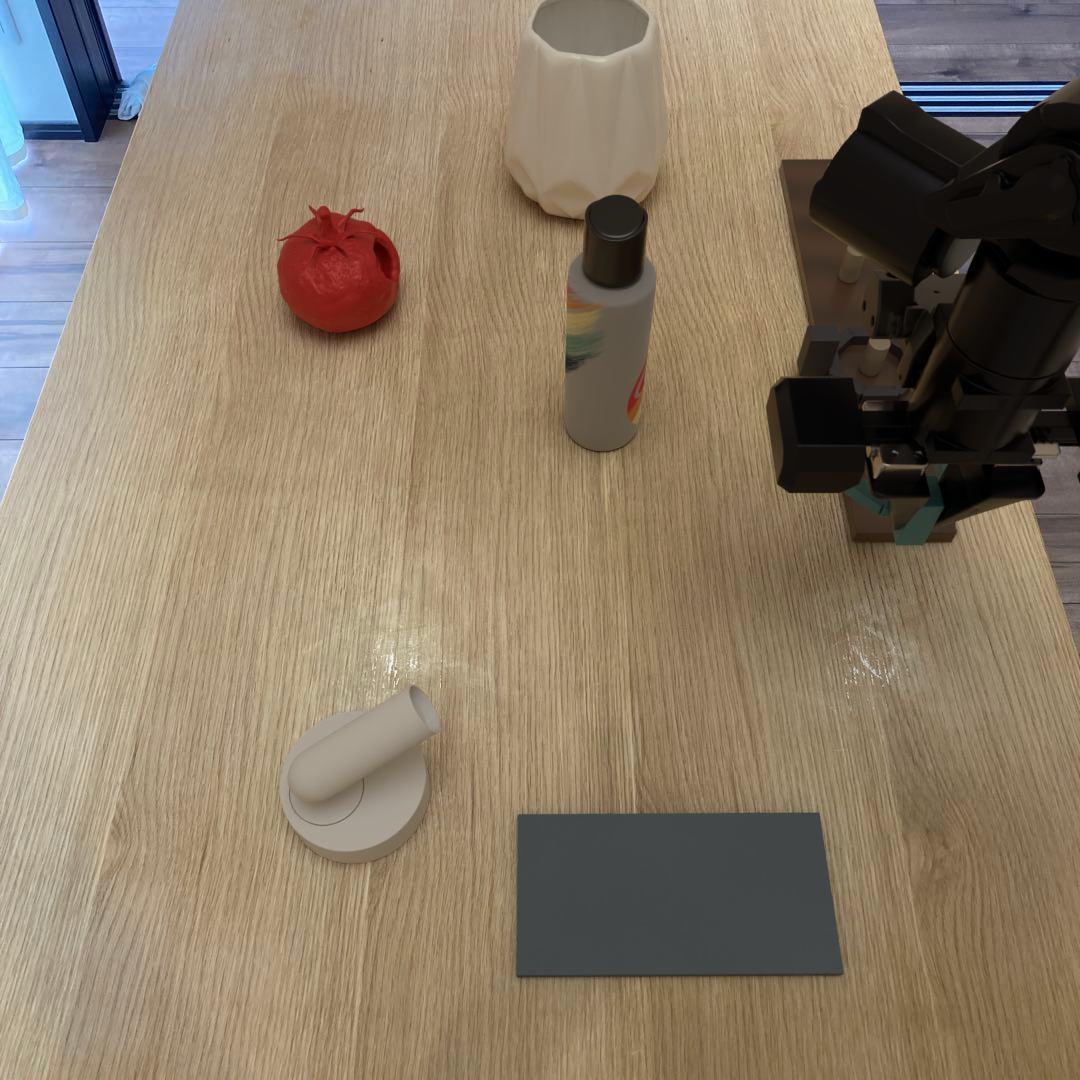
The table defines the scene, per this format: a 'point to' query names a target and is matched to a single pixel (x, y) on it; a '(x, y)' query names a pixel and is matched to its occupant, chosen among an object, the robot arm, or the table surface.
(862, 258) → the peg rack
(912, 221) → the robot arm
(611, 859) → the mat
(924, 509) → the ring teal
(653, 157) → the vase
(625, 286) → the lotion bottle
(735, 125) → the table surface
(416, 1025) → the table surface
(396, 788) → the wall hook
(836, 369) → the ring charcoal
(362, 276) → the pomegranate
